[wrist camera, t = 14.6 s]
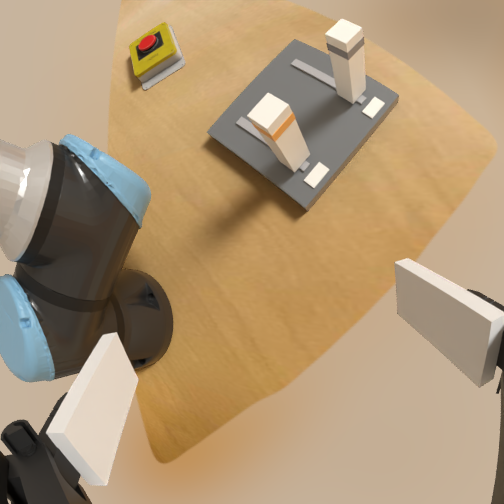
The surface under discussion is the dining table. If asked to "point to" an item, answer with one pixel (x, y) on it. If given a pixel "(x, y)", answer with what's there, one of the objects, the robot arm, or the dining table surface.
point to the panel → (304, 121)
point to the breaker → (347, 59)
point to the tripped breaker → (280, 131)
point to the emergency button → (156, 55)
